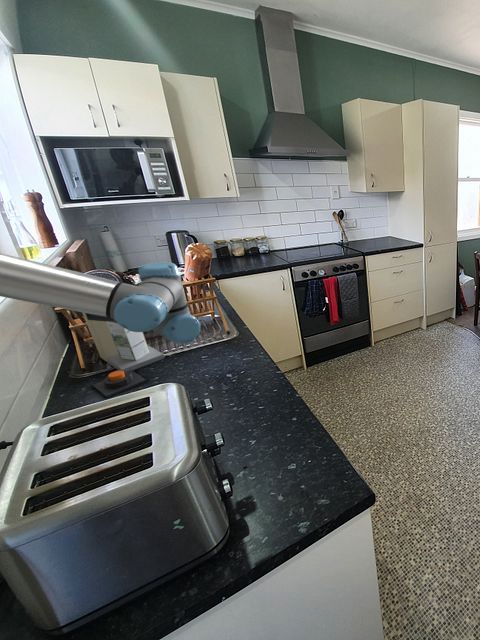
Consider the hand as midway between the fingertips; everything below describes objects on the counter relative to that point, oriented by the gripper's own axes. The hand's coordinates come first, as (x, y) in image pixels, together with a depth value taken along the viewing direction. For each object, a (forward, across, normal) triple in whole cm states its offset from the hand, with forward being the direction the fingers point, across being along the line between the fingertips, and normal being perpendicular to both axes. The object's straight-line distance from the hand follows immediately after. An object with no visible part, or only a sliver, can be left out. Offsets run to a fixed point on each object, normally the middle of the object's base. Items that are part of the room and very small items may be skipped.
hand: (120, 297), depth 101 cm
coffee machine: (+15, +2, -27) cm, 31 cm away
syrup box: (+12, +2, -25) cm, 28 cm away
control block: (0, -7, -27) cm, 28 cm away
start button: (0, -7, -24) cm, 25 cm away
